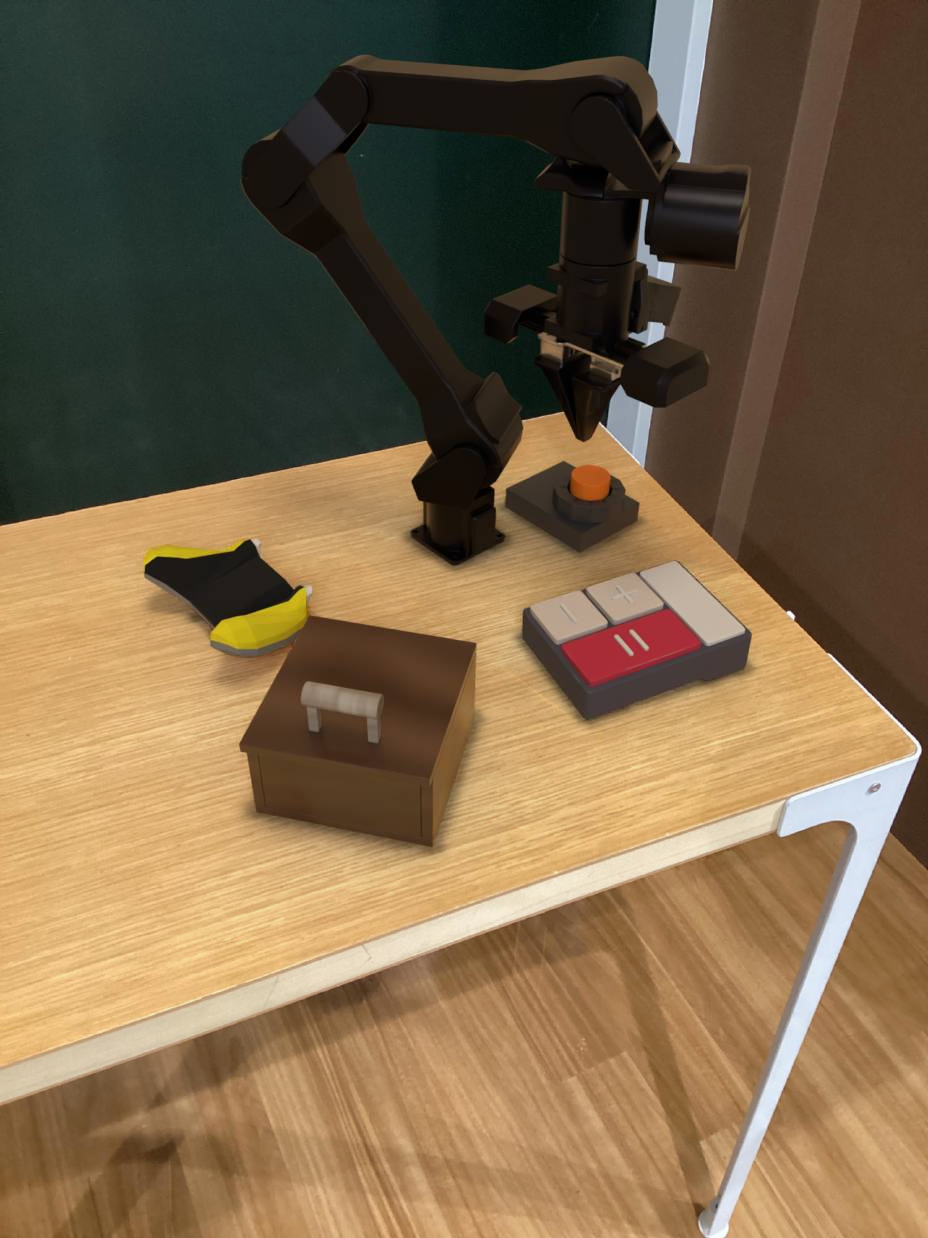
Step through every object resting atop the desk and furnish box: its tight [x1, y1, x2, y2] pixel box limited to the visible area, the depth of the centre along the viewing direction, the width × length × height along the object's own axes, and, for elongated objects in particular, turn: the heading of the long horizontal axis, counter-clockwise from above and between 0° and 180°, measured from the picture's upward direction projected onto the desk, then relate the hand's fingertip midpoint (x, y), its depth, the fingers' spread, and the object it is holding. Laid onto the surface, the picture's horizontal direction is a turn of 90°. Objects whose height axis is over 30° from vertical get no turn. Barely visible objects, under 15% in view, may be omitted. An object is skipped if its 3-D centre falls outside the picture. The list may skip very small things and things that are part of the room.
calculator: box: [521, 560, 753, 720], centre depth 86 cm, size 11×4×15 cm
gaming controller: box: [142, 537, 313, 659], centre depth 88 cm, size 15×6×10 cm
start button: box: [570, 464, 611, 501], centre depth 99 cm, size 4×4×2 cm
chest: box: [246, 653, 477, 848], centre depth 75 cm, size 13×13×7 cm
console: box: [504, 460, 641, 553], centre depth 101 cm, size 10×8×4 cm
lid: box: [238, 614, 478, 788], centre depth 71 cm, size 13×13×5 cm
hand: (583, 439), depth 89 cm, fingers closed
